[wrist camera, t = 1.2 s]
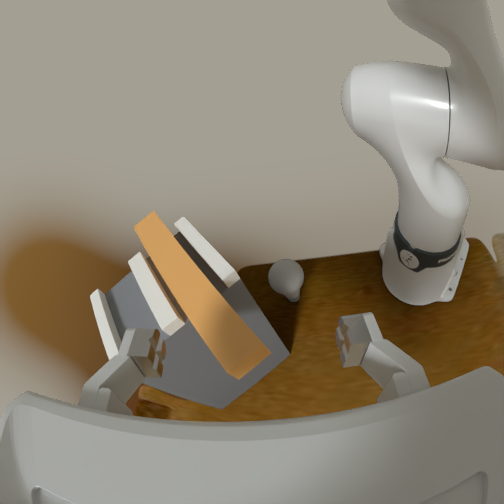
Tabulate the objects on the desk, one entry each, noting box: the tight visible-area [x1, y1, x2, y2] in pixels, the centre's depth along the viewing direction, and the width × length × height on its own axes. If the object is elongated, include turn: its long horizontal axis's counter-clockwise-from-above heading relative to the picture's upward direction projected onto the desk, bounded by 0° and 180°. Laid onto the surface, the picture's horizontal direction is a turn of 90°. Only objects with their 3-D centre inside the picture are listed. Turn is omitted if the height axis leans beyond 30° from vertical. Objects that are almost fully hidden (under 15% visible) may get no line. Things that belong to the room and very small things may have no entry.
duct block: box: [90, 217, 290, 409], centre depth 39 cm, size 16×12×28 cm
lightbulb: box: [268, 259, 304, 302], centre depth 49 cm, size 6×6×11 cm
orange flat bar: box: [134, 211, 271, 380], centre depth 28 cm, size 4×24×2 cm, turn 37°
